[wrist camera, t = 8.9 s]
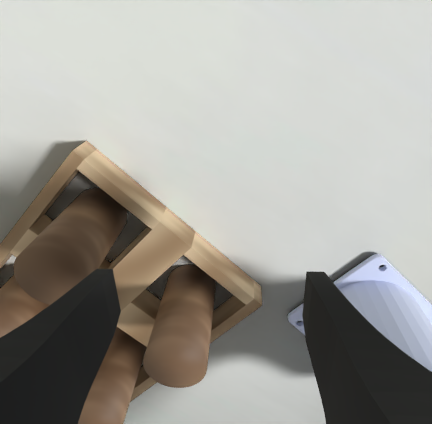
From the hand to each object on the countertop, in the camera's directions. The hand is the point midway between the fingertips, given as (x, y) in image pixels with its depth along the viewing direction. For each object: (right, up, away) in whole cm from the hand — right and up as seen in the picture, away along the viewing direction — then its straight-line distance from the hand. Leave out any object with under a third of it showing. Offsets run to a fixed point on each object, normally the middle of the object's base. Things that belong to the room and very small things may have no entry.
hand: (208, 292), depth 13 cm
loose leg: (-7, +3, +10) cm, 13 cm away
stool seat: (-7, -2, +13) cm, 15 cm away
